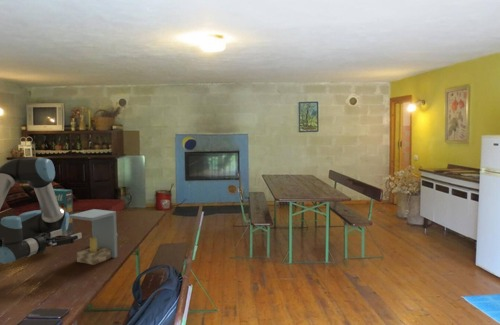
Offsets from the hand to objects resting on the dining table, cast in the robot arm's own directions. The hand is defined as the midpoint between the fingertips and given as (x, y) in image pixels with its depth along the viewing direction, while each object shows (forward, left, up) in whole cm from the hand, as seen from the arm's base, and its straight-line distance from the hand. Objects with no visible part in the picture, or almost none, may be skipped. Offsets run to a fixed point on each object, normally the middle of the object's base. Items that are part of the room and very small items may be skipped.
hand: (71, 233), depth 199 cm
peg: (+1, +13, -18) cm, 22 cm away
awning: (+1, +13, -18) cm, 22 cm away
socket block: (+1, +13, -18) cm, 22 cm away
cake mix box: (-62, +43, -18) cm, 78 cm away
